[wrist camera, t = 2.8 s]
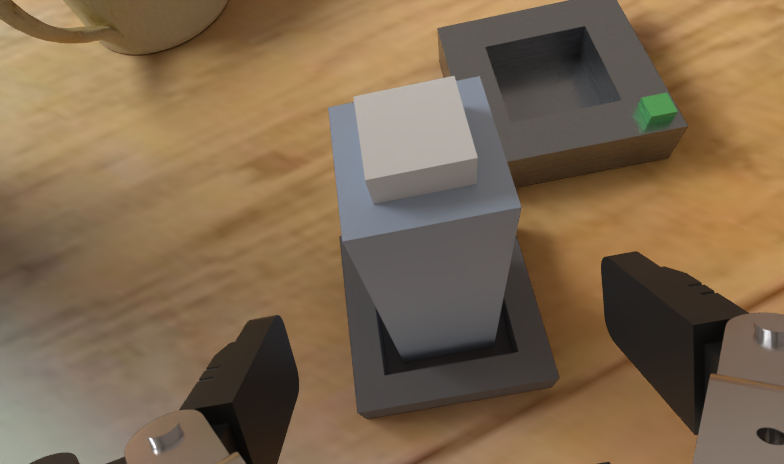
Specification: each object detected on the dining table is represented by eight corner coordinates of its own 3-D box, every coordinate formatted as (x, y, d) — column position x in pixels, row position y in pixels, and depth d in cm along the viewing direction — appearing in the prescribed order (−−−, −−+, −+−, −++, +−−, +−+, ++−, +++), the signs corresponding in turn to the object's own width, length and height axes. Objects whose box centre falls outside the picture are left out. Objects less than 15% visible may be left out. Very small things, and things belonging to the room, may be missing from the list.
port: (475, 195, 25) (476, 160, 22) (439, 61, 30) (436, 19, 27) (668, 157, 25) (693, 117, 22) (600, 28, 29) (614, -19, 27)
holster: (366, 419, 21) (357, 413, 19) (348, 254, 25) (339, 236, 23) (551, 387, 20) (559, 378, 19) (503, 224, 24) (506, 204, 22)
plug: (403, 362, 21) (331, 219, 10) (390, 279, 23) (318, 79, 12) (493, 346, 21) (526, 181, 10) (473, 263, 23) (480, 45, 12)
